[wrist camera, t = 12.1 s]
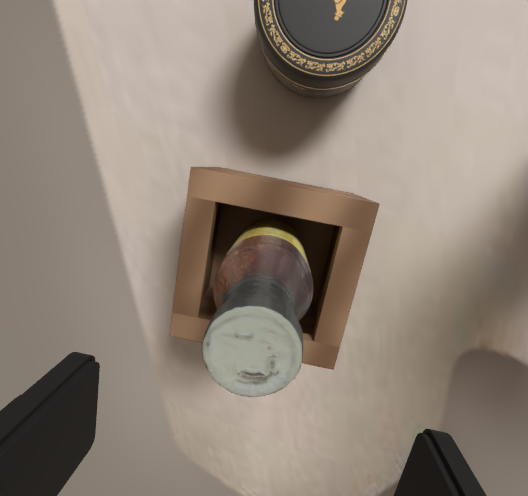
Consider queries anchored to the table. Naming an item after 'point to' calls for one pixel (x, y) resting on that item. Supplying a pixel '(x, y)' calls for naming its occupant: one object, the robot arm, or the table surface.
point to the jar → (325, 41)
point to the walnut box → (295, 215)
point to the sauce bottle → (259, 311)
